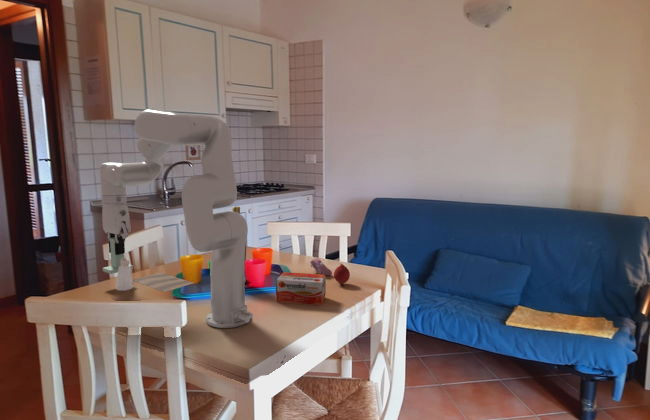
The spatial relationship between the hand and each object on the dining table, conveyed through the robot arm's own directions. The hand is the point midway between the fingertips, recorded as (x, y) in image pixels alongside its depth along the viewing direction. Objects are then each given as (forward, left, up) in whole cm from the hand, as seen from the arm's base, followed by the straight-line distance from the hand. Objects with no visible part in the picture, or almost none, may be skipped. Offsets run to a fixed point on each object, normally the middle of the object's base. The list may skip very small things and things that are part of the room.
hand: (117, 252), depth 152 cm
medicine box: (-56, -31, -13) cm, 65 cm away
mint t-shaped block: (0, 0, -6) cm, 6 cm away
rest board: (-8, -12, -13) cm, 19 cm away
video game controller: (-44, -58, -13) cm, 74 cm away
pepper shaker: (-4, 0, -13) cm, 13 cm away
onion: (-58, -52, -13) cm, 79 cm away
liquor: (-28, -29, -13) cm, 42 cm away
